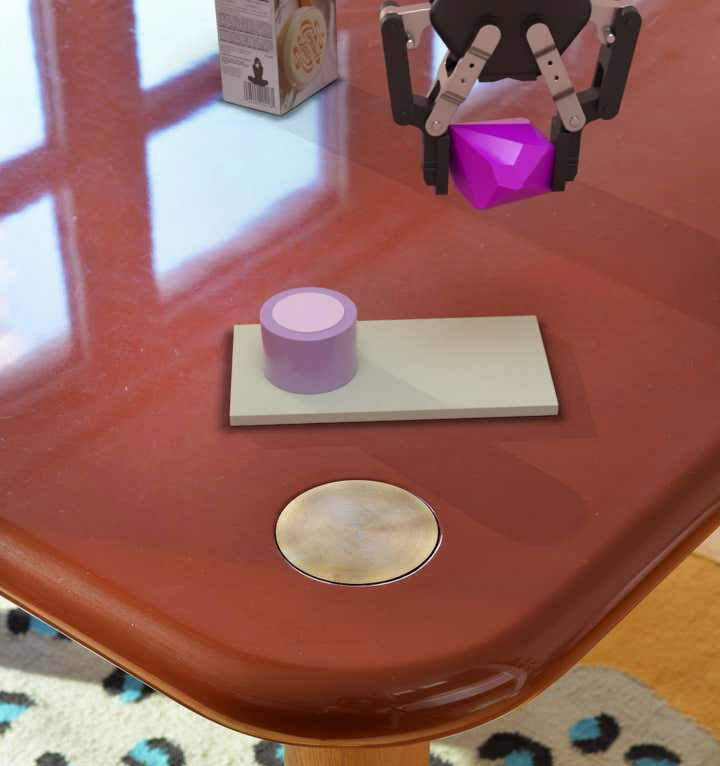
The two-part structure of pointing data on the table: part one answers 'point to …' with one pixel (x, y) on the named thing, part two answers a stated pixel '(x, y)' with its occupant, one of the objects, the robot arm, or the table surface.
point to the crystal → (500, 161)
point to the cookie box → (276, 51)
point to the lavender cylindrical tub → (309, 340)
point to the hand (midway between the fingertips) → (498, 186)
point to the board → (409, 374)
